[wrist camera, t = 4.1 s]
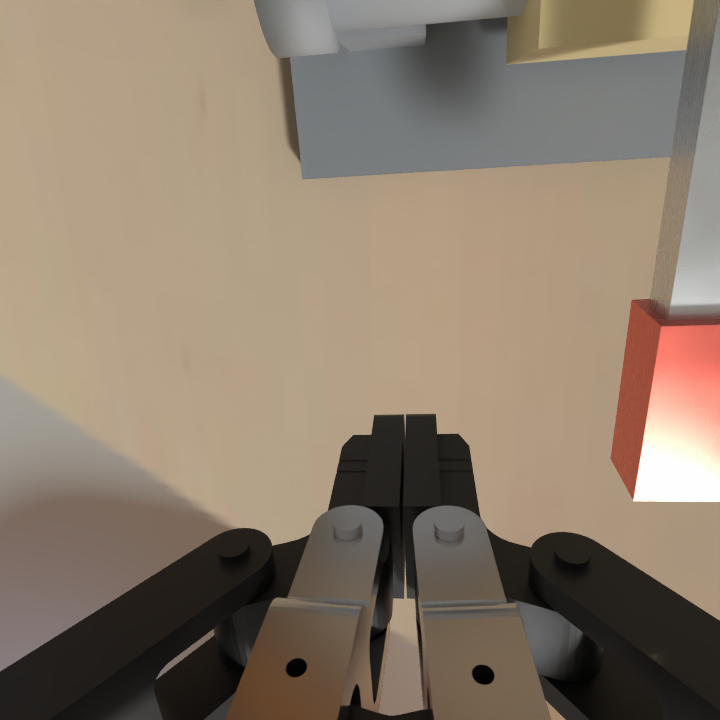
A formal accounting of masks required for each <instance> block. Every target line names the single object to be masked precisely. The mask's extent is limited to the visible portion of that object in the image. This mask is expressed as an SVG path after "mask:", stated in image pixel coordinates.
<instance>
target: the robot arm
mask: <svg viewBox="0 0 720 720" xmlns="http://www.w3.org/2000/svg"><path fill="white" fill-rule="evenodd" d="M405 562H406V584H407V598H412V599H415V604H416V630H417V644H418V654H419V655H418V656H419V667H420V678H421V690H422V701H423V710H420V711H415V712H411V713H406V714H401V715H396V716H388V715H383V714H380V713H379V709H380V701H381V694H382V687H383V679H384V673H385V666H386V659H387V651H388V645H389V637H390V620H391V617H392V607H393V598H403V599H404V576H405ZM212 629H213V630H214V634H215V635H214V636H213V637H212V638H210V639H209V640H208V641H206V642H205V643H204V644H203V645H201V646H200V647H198V648H197V649H196V650H195V651H193V652H192V653H191V654H189V655H188V656H187V657H185V658H184V659H183V660H182V661H180V662H179V663H177V664H176V665H175V666H174V667H172V668H171V669H170V670H168V671H167V672H166V673H164V674H163V675H162V676H161V677H159V678H158V679H157V680H156V678H157V676H158V674H159V673H160V671H161V670H162V669H163V668H164V667H165V665H166V664H168V662H170V661H171V660H173V659H174V658H175V657H177V655H179V654H180V653H182V652H183V651H185V650H186V649H187V648H189V647H190V646H191V645H192V644H194V643H195V642H196V641H198V640H199V639H200V638H202V637H203V636H204V635H206V634H207V633H208V632H210V631H211V630H212ZM546 701H547V702H548V703H549V704H550V705H551V706H552V707H553V708H555V709H556V710H557V711H558V712H559V713H560V714H561V715H562V716H563V717H564V718H565V719H566V720H720V621H719V620H718V619H716V618H715V617H713V616H711V615H710V614H708V613H707V612H705V611H704V610H702V609H701V608H699V607H697V606H696V605H694V604H693V603H691V602H690V601H688V600H686V599H685V598H683V597H682V596H680V595H679V594H677V593H676V592H674V591H672V590H671V589H669V588H668V587H666V586H665V585H663V584H661V583H660V582H658V581H657V580H655V579H654V578H652V577H651V576H649V575H647V574H646V573H644V572H643V571H641V570H640V569H638V568H636V567H635V566H633V565H632V564H630V563H629V562H627V561H626V560H624V559H622V558H621V557H619V556H618V555H616V554H615V553H613V552H611V551H610V550H608V549H607V548H605V547H604V546H602V545H601V544H599V543H597V542H596V541H594V540H592V539H590V538H588V537H585V536H582V535H579V534H575V533H568V532H556V533H550V534H547V535H544V536H542V537H540V538H539V539H537V540H536V541H535V542H534V544H533V545H532V547H527V546H523V545H519V544H515V543H512V542H508V541H506V540H504V539H501V538H500V537H498V536H496V535H495V534H493V533H492V532H491V531H489V530H488V529H487V528H486V526H485V524H484V522H483V521H482V519H481V517H480V513H479V507H478V500H477V494H476V487H475V481H474V474H473V468H472V462H471V455H470V449H469V445H468V444H467V443H466V442H465V441H464V440H463V439H462V437H461V436H460V435H459V434H437V426H436V414H406V435H405V423H404V415H374V421H373V428H372V435H353V436H352V437H351V438H350V439H349V440H348V441H347V442H346V443H345V444H344V445H343V447H342V450H341V455H340V459H339V464H338V468H337V474H336V477H335V481H334V486H333V490H332V495H331V499H330V504H329V508H328V511H327V512H325V513H324V514H322V515H321V516H320V517H319V518H318V519H317V520H316V521H315V523H314V525H313V528H312V531H311V533H310V534H309V535H308V536H306V537H303V538H301V539H298V540H295V541H291V542H287V543H283V544H278V545H274V546H272V543H271V541H270V539H269V537H268V536H267V535H266V534H264V533H263V532H261V531H259V530H256V529H251V528H238V529H233V530H229V531H226V532H223V533H221V534H219V535H217V536H215V537H213V538H212V539H210V540H209V541H207V542H205V543H204V544H202V545H201V546H200V547H198V548H196V549H194V550H193V551H191V552H190V553H188V554H187V555H185V556H183V557H182V558H180V559H178V560H177V561H175V562H174V563H172V564H171V565H169V566H168V567H166V568H164V569H163V570H161V571H159V572H158V573H156V574H155V575H153V576H151V577H150V578H148V579H147V580H145V581H144V582H142V583H140V584H139V585H137V586H136V587H134V588H132V589H131V590H129V591H128V592H126V593H125V594H123V595H121V596H120V597H118V598H117V599H115V600H114V601H112V602H110V603H109V604H107V605H105V606H104V607H102V608H101V609H99V610H97V611H96V612H94V613H93V614H91V615H90V616H88V617H86V618H85V619H83V620H82V621H80V622H78V623H77V624H75V625H74V626H72V627H71V628H69V629H67V630H66V631H64V632H63V633H61V634H59V635H58V636H56V637H55V638H53V639H51V640H50V641H48V642H47V643H45V644H43V645H42V646H40V647H39V648H37V649H36V650H34V651H32V652H31V653H29V654H28V655H26V656H24V657H23V658H21V659H20V660H18V661H16V662H15V663H13V664H12V665H10V666H8V667H7V668H5V669H4V670H2V671H1V672H0V720H551V717H550V714H549V710H548V707H547V704H546Z"/></svg>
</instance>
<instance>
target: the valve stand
mask: <svg viewBox="0 0 720 720" xmlns="http://www.w3.org/2000/svg"><path fill="white" fill-rule="evenodd" d="M693 2H694V0H254V3H255V7H256V11H257V14H258V18H259V21H260V25H261V28H262V31H263V34H264V37H265V39H266V42H267V44H268V46H269V48H270V50H271V52H272V53H273V54H274V56H275V57H277V58H286V57H290V65H291V74H292V84H293V93H294V103H295V112H296V122H297V132H298V141H299V151H300V160H301V170H302V179H315V178H332V177H348V176H364V175H381V174H397V173H413V172H430V171H446V170H462V169H479V168H495V167H511V166H528V165H544V164H560V163H577V162H593V161H609V160H626V159H642V158H658V157H671V153H672V146H673V139H674V132H675V125H676V119H677V112H678V105H679V98H680V91H681V84H682V78H683V71H684V64H685V57H686V50H687V43H688V37H689V30H690V23H691V16H692V9H693Z"/></svg>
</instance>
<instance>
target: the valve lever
mask: <svg viewBox="0 0 720 720" xmlns="http://www.w3.org/2000/svg"><path fill="white" fill-rule="evenodd" d="M611 460H612V462H613V464H614V466H615V467H616V469H617V471H618V473H619V475H620V477H621V478H622V480H623V482H624V484H625V486H626V488H627V489H628V491H629V493H630V495H631V497H632V499H633V500H634V501H720V0H694V2H693V9H692V16H691V23H690V30H689V37H688V43H687V50H686V57H685V64H684V71H683V78H682V84H681V91H680V98H679V105H678V112H677V119H676V125H675V132H674V139H673V146H672V153H671V160H670V166H669V173H668V180H667V187H666V194H665V201H664V207H663V214H662V221H661V228H660V235H659V241H658V248H657V255H656V262H655V269H654V276H653V282H652V289H651V296H650V299H643V300H632V302H631V310H630V317H629V325H628V332H627V340H626V347H625V355H624V362H623V370H622V377H621V385H620V392H619V400H618V407H617V415H616V423H615V430H614V438H613V445H612V453H611Z"/></svg>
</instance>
